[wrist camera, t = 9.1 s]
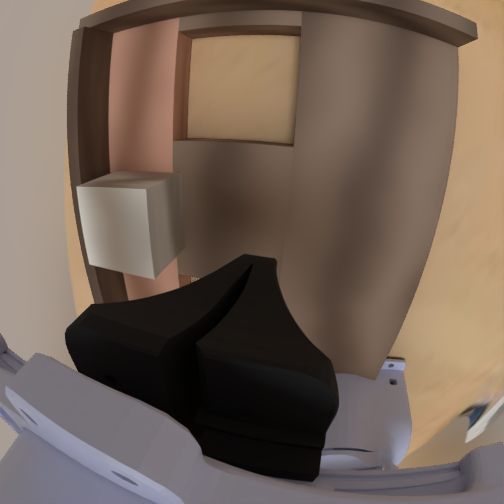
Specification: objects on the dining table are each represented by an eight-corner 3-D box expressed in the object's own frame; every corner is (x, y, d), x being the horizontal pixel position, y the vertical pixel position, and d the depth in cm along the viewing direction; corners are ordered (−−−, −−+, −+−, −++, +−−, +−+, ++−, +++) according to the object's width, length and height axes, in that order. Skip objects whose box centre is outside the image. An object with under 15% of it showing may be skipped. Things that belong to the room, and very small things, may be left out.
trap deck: (444, 40, 10) (480, 20, 6) (367, 374, 23) (370, 419, 18) (121, 29, 14) (75, 17, 10) (141, 330, 26) (115, 364, 22)
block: (181, 173, 16) (146, 189, 13) (184, 248, 18) (154, 279, 15) (117, 171, 17) (76, 186, 14) (123, 238, 19) (89, 264, 16)
